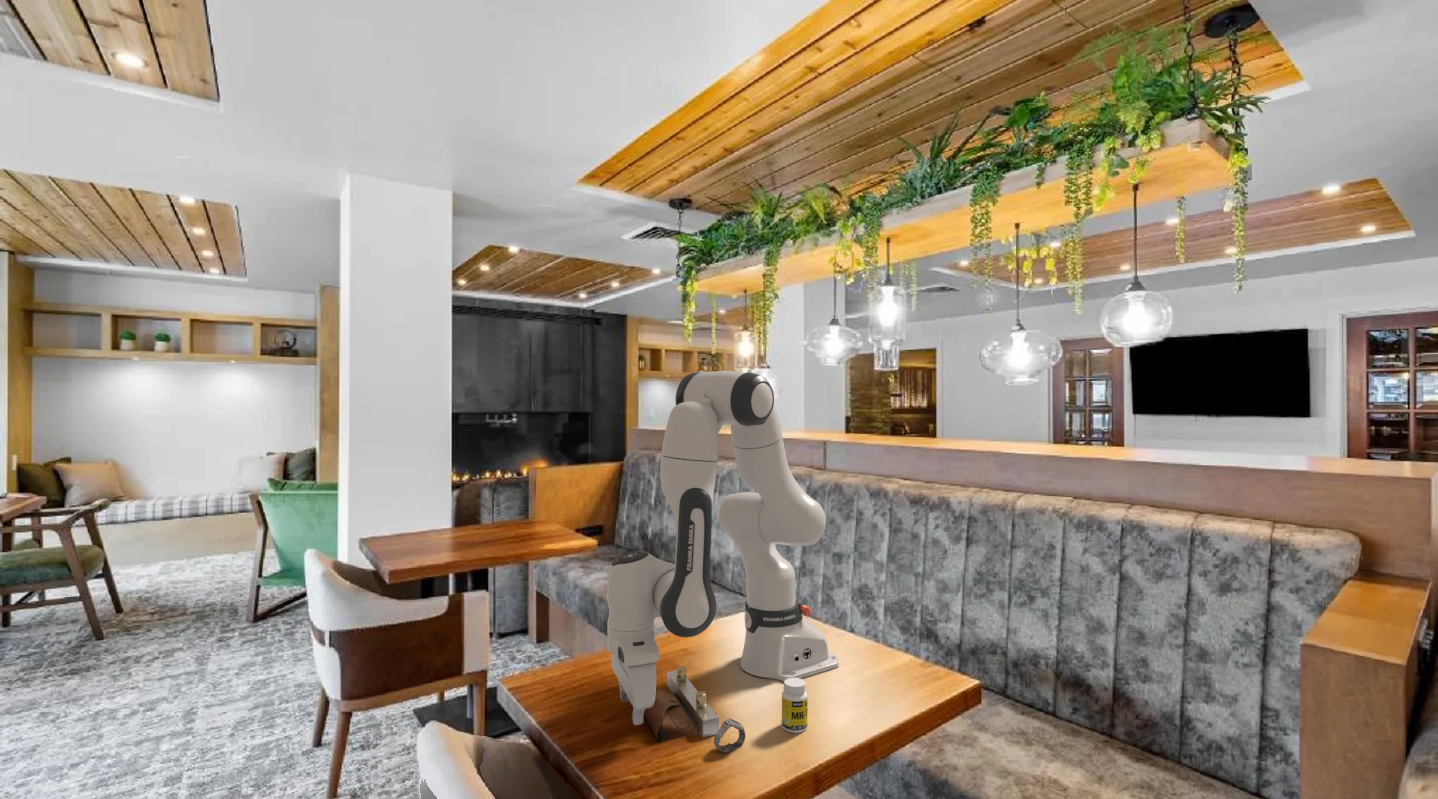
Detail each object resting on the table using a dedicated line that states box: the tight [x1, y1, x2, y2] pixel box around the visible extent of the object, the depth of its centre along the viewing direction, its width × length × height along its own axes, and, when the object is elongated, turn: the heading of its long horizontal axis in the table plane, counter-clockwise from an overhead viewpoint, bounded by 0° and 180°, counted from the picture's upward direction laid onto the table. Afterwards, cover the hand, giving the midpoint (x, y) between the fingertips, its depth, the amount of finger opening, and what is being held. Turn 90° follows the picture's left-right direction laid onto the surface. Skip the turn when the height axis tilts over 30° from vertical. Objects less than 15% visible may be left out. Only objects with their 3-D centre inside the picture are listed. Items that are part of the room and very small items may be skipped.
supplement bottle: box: [781, 678, 809, 734], centre depth 120 cm, size 5×5×8 cm
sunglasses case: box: [643, 687, 699, 743], centre depth 124 cm, size 18×7×7 cm
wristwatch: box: [713, 717, 746, 754], centre depth 113 cm, size 4×6×5 cm, turn 127°
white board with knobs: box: [666, 665, 720, 738], centre depth 127 cm, size 3×22×6 cm, turn 22°
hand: (631, 711), depth 123 cm, fingers open, 8 cm apart
